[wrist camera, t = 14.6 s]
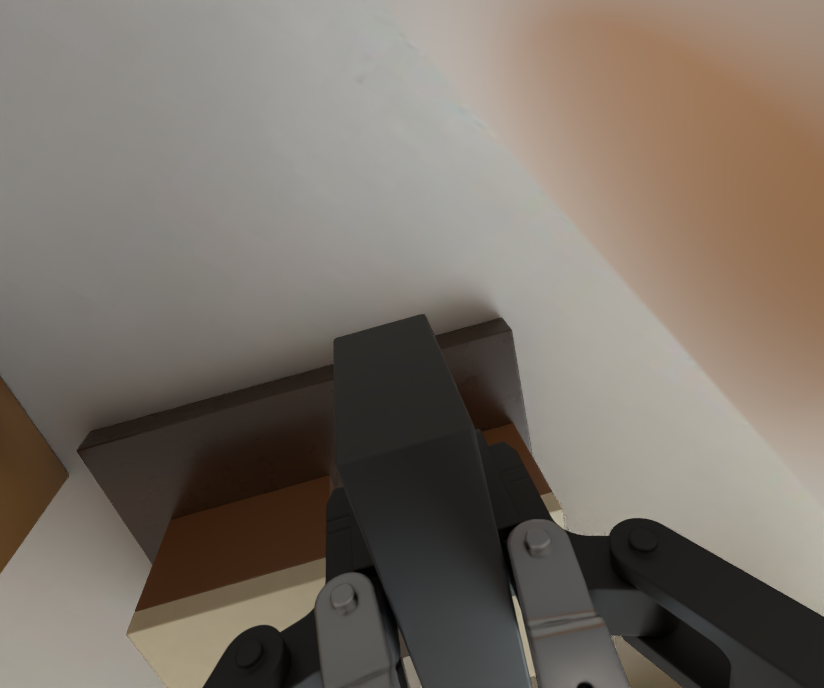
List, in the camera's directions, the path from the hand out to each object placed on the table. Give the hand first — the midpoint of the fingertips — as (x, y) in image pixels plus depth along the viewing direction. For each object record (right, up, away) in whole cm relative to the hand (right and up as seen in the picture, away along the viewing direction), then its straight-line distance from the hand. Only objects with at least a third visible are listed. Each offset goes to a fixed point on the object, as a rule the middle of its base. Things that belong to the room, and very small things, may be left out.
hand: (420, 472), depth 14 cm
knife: (+1, -5, +3) cm, 6 cm away
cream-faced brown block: (-7, -8, +13) cm, 17 cm away
